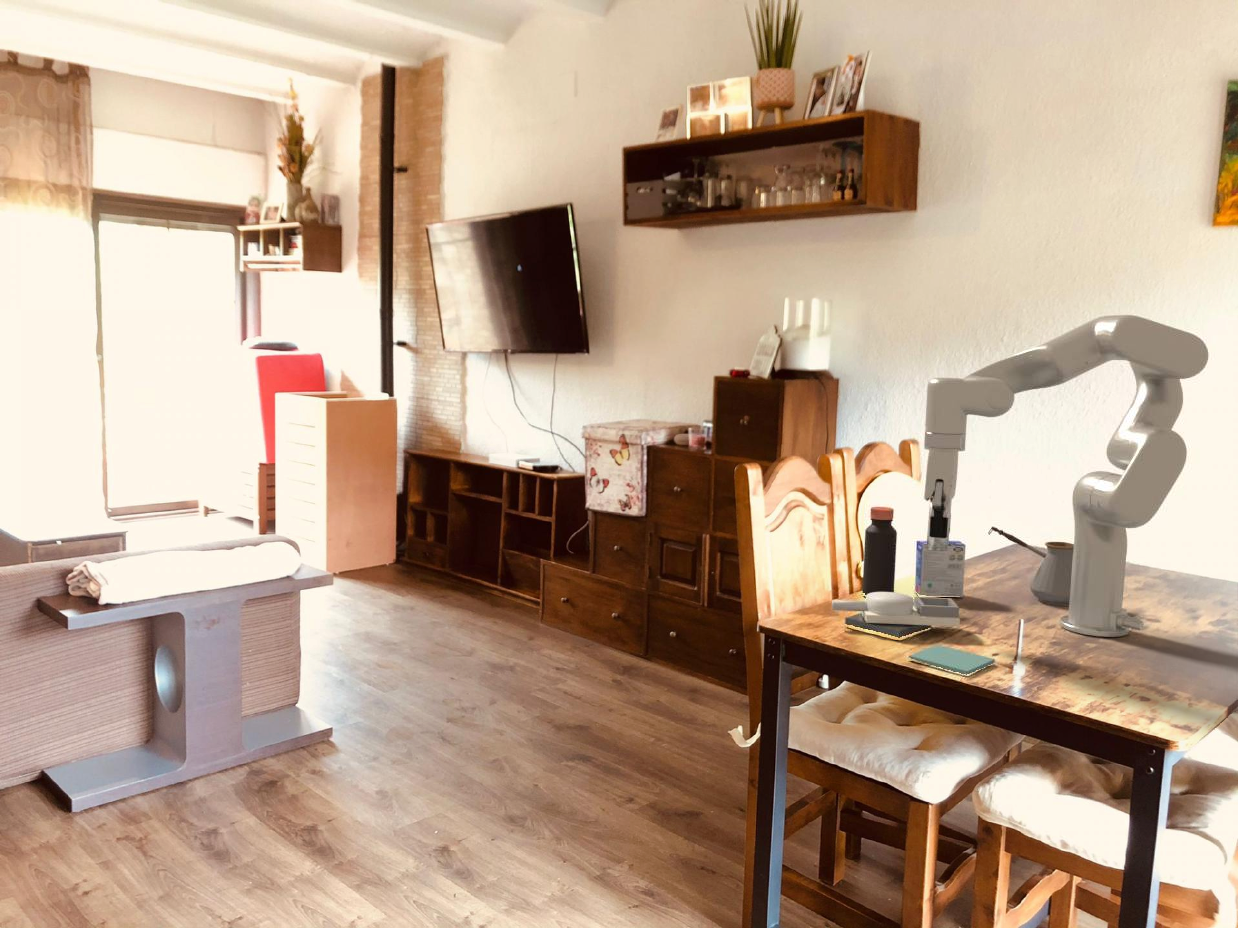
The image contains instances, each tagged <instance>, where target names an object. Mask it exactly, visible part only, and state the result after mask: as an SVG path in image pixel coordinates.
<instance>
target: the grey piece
mask: <svg viewBox="0 0 1238 928" xmlns="http://www.w3.org/2000/svg"><path fill="white" fill-rule="evenodd" d="M932 498H933V496H932V497H931V498H930V499H929V505H928V506H929V508H928V509H929V511H928V520H927V521H928V522H927V524H928V525H927V535H926V537H927V538H926V541H927V549H928V550H932V551H948V542H949V541H950V533H949V529H950V530H951V521H950V515H951V516H952V514H951V513H952V512H951V511H952V500H953V499H952V500H951V501H949V502H948V504H947V517H946V518H948V527H947V537H946V538H935V537H930V536H929V533H930V516H931V511H932ZM942 501H945V499H942ZM942 505H943V504H942ZM943 507H944V505H943Z"/></svg>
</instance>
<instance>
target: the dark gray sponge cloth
mask: <svg viewBox="0 0 1238 928" xmlns="http://www.w3.org/2000/svg"><path fill="white" fill-rule="evenodd" d="M844 620H845V621H844V625H845V624H847V625H853V626H855V627H860V628H863V629H868V630H873V631H876V632H881V633H884V634H888V635H891V636H895V637H898V638H900V637H902V636H906V635H909V634H912V633H914V632H918V631H921V630H925V629H928V628H930V627H931V628H932V627H933V625H911V624H888V623H866V621H865V619H864V617H863V615H862V614H861V612H859V613H856V614H853V615H850V616H846V617H845V619H844Z"/></svg>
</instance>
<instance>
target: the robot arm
mask: <svg viewBox="0 0 1238 928" xmlns="http://www.w3.org/2000/svg"><path fill="white" fill-rule="evenodd" d="M1111 361H1127V362H1129V364H1130V365H1129V366H1130V367H1131V369H1132V372H1133V375H1134V377H1135V382H1136V383H1135V385H1136V392H1135V395H1134V398H1133V399H1132V402H1131V404H1130V406H1129V408H1128V410H1127V411H1126V413H1125V414H1124V416H1123V418H1122V420H1121V421H1120V423H1119V425H1118V426H1117V428H1116V430H1115V431H1114V433H1113V434H1112V436H1111V438H1110V440H1109V441H1108V444H1107V446H1106V457H1107V459H1108V461H1109V463H1110V464H1111V465H1112V466H1114V467H1116V468H1117V469H1119V470H1121V471H1123V473H1122V474H1119V473H1114V472H1112V471H1111V472H1110V471H1106V470H1105V471H1103V470H1096V471H1092V472H1089V473H1086V474H1084V475H1083V476H1081V477H1080V479H1079V480H1077V482H1076V484H1075V485H1074V487H1073V491H1072V511H1073V517H1074V518H1073V520H1074V534H1073V535H1074V537H1073V544H1074V550H1073V562H1072V576H1071V589H1070V603H1069V606H1068V614H1066V615H1063V616H1061V617H1060V618H1059V625H1060V626H1061V627H1062V628H1064V629H1065V630H1067V631H1070V632H1073V633H1077V634H1080V635H1081V634H1082V635H1085V636H1093V637H1094V636H1095V637H1101V638H1103V637H1105V638H1116V637H1125V636H1126V635H1129V633H1130V629H1131V630H1135V631H1143V629H1144V621H1143V620H1142V619H1141V618H1139V617H1131V616H1129V614H1128V608H1123V599H1124V588H1125V575H1126V564H1127V562H1126V561H1127V554H1128V535H1127V533H1128V532H1127V529H1137V528H1140V527H1142V526H1144V525H1146V524H1147V523H1148V522H1150V521H1151V520H1152V518H1153V517H1155V515H1156V514H1157V512H1158V511H1159V509H1160V508H1161V506H1162V505H1163V503H1164V501H1165V500H1166V498H1167V496H1168V495H1169V493H1170V491H1171V490H1172V489H1173V486H1174V485H1175V483H1176V481H1177V480H1178V478H1179V477H1180V475H1181V474H1182V472H1183V469H1184V468H1185V465H1186V462H1187V454H1188V451H1187V445H1186V442H1185V440H1184V438H1183V437H1182V436H1181V435H1180V434H1179V433H1178V432H1176V431H1175V430H1172V429H1173V428H1174V426H1175V424H1176V422H1177V420H1178V418H1179V416H1180V414H1181V412H1182V408H1183V405H1184V392H1183V388H1182V383H1181V380H1185V379H1186V380H1187V379H1191V378H1193V377H1195V376H1197V375H1199V374H1200V373H1202V372H1203V370H1205V368H1206V366H1207V364H1208V361H1209V350H1208V347H1207V344H1206V343H1205V342H1204V341H1203V340H1202V339H1201V338H1200V337H1199V336H1198V335H1196V334H1194V333H1191V332H1189V331H1185V330H1182V329H1179V328H1175V327H1173V326H1170V325H1166V324H1165V323H1161V322H1156V321H1153V320H1152V319H1148V318H1144V317H1141V316H1137V315H1134V314H1121V315H1120V314H1119V315H1118V314H1117V315H1103V316H1099V317H1097V318H1094V319H1091V320H1089V321H1088V322H1085V323H1083V324H1081V325H1079V326H1078V327H1075V328H1073V329H1072V330H1069V331H1067V332H1065V333H1063V334H1061V335H1059V336H1057V337H1055V338H1053V339H1050V340H1048V341H1046V342H1044V343H1042V344H1040V345H1037V346H1035V347H1031V348H1029V349H1026V350H1024V351H1021V352H1019V353H1016V354H1014V355H1010V356H1008V357H1006V358H1002V359H1000V360H998V361H995V362H993V363H991V364H990V363H989V364H988V365H986V366H984V367H982V368H980V369H978V370H976V371H974V372H972V373H970V374H968V375H967V376H966V375H965V377H963V378H959V377H934V378H931V379H930V380H929V381H928V383H927V389H926V405H925V407H926V408H925V409H926V410H925V423H924V427H925V428H924V442H923V444H924V445H923V449H924V450H928V456H927V463H926V473H925V485H924V486H925V487H924V493H923V494H924V496H923V497H924V498H923V499H924V500H925V501H926V502H928V501H930V498H931V497H933V498H932V511H931V516H930V533H929V536H930V537H935V538H946V537H947V527H948V518H946V517H947V504H948V502H949V501H951V500H953V499H954V497H955V496H956V488H957V479H958V467H959V466H958V465H959V452H965V451H966V438H967V424H968V423H967V421H968V419H967V418H968V415H971V416H979V417H985V418H996V417H1000V416H1003V415H1004V414H1007V413H1008V412H1009V411H1010V410H1011V409H1012V407H1013V405H1014V403H1015V395H1016V394H1019V393H1023V392H1026V391H1032V390H1039V389H1045V388H1052V387H1055V386H1060V385H1062V384H1065V383H1067V382H1069V381H1071V380H1073V379H1075V378H1076V377H1078V376H1079V377H1080V376H1081V375H1083V374H1085V373H1087V372H1090V371H1091V370H1093V369H1096V368H1097V367H1099V366H1101V365H1103V364H1106V363H1108V362H1111ZM942 499H945V501H942ZM942 504H943V505H944V507H943V505H942ZM951 518H952V514H951V515H950V522H951ZM950 533H951V528H950V529H949V534H950Z"/></svg>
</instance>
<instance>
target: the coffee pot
mask: <svg viewBox="0 0 1238 928" xmlns="http://www.w3.org/2000/svg"><path fill="white" fill-rule="evenodd" d="M993 531H994V532H997V533H998V535H1000V536H1003V537H1004V538H1006V539H1007V540H1009V541H1010V542H1013V543H1014V544H1017V545H1019V546H1021V547H1023V548H1026V549H1027V550H1029V551H1031V552H1033V553H1035V554H1037V555H1038V556H1041V557H1042V558H1043V560H1042V562H1041V564H1040V566H1039V568H1038V570H1037V571H1036V573H1035V576H1034V577H1033V579H1032V581H1031V582H1030V584H1029V589H1030V591H1031V593H1032V594H1033V596H1034V597H1036V598H1037V600H1038V601H1039V602H1041V603H1044V604H1048V605H1054V606H1063V607H1065V606H1068V607H1069V603H1070V589H1071V576H1072V562H1073V550H1074V543H1071V542H1065V541H1046V542H1045V543H1044V545H1045V546H1046V549H1047V553H1045V552H1043V551H1041V550H1039V549H1037V548H1035V547H1033V546H1032V545H1029V544H1028V543H1026V542H1024V541H1022V539H1019V538H1018V537H1016V536H1014V535H1013V534H1009V533H1007V532H1005V531H1004V530H1002V529H999V528H998V527H995V526H991V528H990V529H989V531H988V533H987V534H988V535H991V534H992V532H993Z"/></svg>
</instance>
